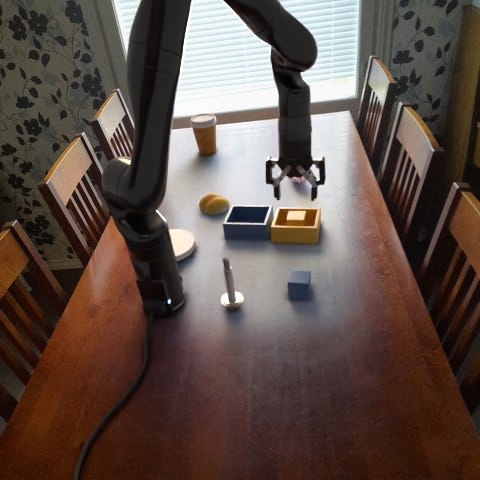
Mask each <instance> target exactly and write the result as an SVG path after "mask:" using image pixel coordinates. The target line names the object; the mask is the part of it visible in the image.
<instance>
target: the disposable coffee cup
mask: <svg viewBox="0 0 480 480" xmlns="http://www.w3.org/2000/svg"><path fill="white" fill-rule="evenodd" d="M217 120H218V119H217V118H216V115H215V114H214V113H209V112H206V113H205V112H204V113H198V114H195V115H194V116H192V117H191V118H190V122H189V125H190V126H191V128H192V132H193V135H194V138H195V141H196V146H197V148H198V152H199V154H200V155H212V154H214V153H216V152H217Z"/></svg>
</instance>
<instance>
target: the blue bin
mask: <svg viewBox="0 0 480 480" xmlns="http://www.w3.org/2000/svg"><path fill="white" fill-rule="evenodd" d="M228 209H229V210H228V212H227V213H226V216H225V218H224V219H223V222H222V230H223V235H224V236H223V237H224V240H225V239H227V240H229V239H230V240H257V241H258V240H259V241H268V240H269V236H270V234H271V225H272V222H273V219H274V206H273V205H271V204H270V205H269V204H268V205H267V204H266V205H265V204H262V205H261V204H231V205H230V206H229V208H228Z"/></svg>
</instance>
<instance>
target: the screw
mask: <svg viewBox="0 0 480 480" xmlns="http://www.w3.org/2000/svg"><path fill="white" fill-rule="evenodd" d="M222 265H223V267H222V269H223V278H224V284H225V290H226V293H225V294H223V295H222V296H221V299H220V303H221V304H222V306H223V307H226V308H227V309H228V310H230V311H232V310H237V309H238V308H239V307H240V305H242V303H243V302H244V296H243V295H242V293H240V292H238V291H236V288H235V281H234V273H233V270H232V266H231V263H230V258H227V257H223V258H222Z"/></svg>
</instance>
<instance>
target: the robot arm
mask: <svg viewBox="0 0 480 480" xmlns="http://www.w3.org/2000/svg"><path fill="white" fill-rule="evenodd" d="M193 1H194V0H140V2H139V4H138V6H137V9H136V13H135V15H134V17H133V22H132V24H131V27H130V32H129V37H128V44H127V52H126V60H125V66H124V80H125V88H126V93H127V97H128V102H129V107H130V111H131V114H132V120H133V121H132V122H133V144H132V152H131V156H127V155H119V156H116V157H113V158H112V159H110V160H109V161H108V162H107V163H106V164H105V166H104V168H103V170H102V175H101V188H102V193H103V196H104V199H105V202H106V205H107V207H108V210H109V213H110V215H111V218H112V221H113V223H114V225H115V227H116V229H117V231H118V232H119V234H120V235H121V237H123V240H124V243H125V246H126V249H127V253H128V256H129V259H130V263H131V265H132V268H133V271H134V275H135V277H136V279H135V283H136V286H137V289H138V292H139V295H140V299H141V302H142V304H141V307H142V310H143V313H144V315H148V320H147V323H146V327H145V333H144V343H143V361H142V365H141V368H140V370H139V372H138V374H137V376H136V377H135V379H134V381H133V382H132V383H131V385H130V386H129V387H128V388H127V390H126V391H125V393H124V394H123V395H122V397H121V398H120V399H119V400H118V401H117V402H116V403H115V404H114V405H113V406H112V408H110V409H109V411H107V412H106V413H105V415H104V416H103V417H102V418H101V420H100V421H99V422H98V424H97V425H96V427H95V428H94V429H93V431H92V432H91V434H90V435H89V437H88V438H87V440H86V442H85V444H84V445H83V448H82V450H81V452H80V454H79V456H78V460H77V462H76V465H75V468H74V472H73V476H72V480H79V478H80V477H79V476H80V471H81V468H82V466H83V462H84V460H85V457H86V454H87V452H88V450H89V448H90V446H91V444H92V442H93V441H94V439H95V438H96V436H97V435H98V434H99V432H100V430H101V429H102V428H103V427H104V425H105V423H106V422H107V421H108V420H109V419H110V417H112V415H114V413H115V412H116V411H117V410H118V409H119V408H120V407H121V406H122V405H123V403H124V402H125V401H126V400H127V398H128V397H129V396H130V395H131V393H132V392H133V391H134V389H135V388H136V386H137V385H138V384H139V382H140V380H141V379H142V377H143V375H144V373H145V371H146V368H147V365H148V362H149V339H150V338H149V337H150V331H151V326H152V323H153V319H154V317H155V316H163V317H164V316H172V315H173V314H174V313H175V312H176V311H178V310H179V309H181V308H183V306H184V305H185V303H186V300H187V296H186V292H185V290H184V285H183V283H184V282H183V277H182V276H181V274H180V269H179V266H178V261H176V257H175V253H174V248H173V244H172V240H171V236H170V232H169V230H170V229H169V225H168V222H167V220H166V218H165V217H164V216H163V215H162V214H161V213H160V212H159V211H158V209H159V208H160V207H161V206H162V204H163V202H164V199H165V196H166V192H167V187H168V177H169V176H168V173H169V161H170V148H171V147H170V146H171V138H172V136H171V135H172V129H173V124H174V117H175V109H176V104H177V103H176V102H177V96H178V91H179V86H180V82H181V76H182V70H183V65H184V59H185V49H186V42H187V36H188V32H189V25H190V22H191V21H190V19H191V14H192V8H193ZM221 1H222V2H223V3H224V4H225V5H226V7H228V8H229V9H230V10H231V11H232V12H233V14H234V15H235V16H236V17H237V18H238V19H239V20H240V21H241V22H242V24H243V25H244V26H245V27H246V28H247V29H248V30H249V31H250V33H251V34H252V35H253V36H254V37H255V38H257V39H258V40H259V41H261V42H263V43H265V44H267V45H269V63H270V68H271V72H272V77H273V82H274V86H275V88H276V92H277V110H278V112H277V114H278V115H277V116H278V117H277V143H278V158H273V157H272V156H268V157H267V159H266V161H265V184H266V185H271V186H272V187H273V198H274V199H276V201H280V200H281V197H282V192H281V191H282V190H281V182H282V181H283V180H284V179H285V178H286V177H287V178H288V179H289V178H293V177H297V178H301V177H303V176H304V178H305V179H306V182H308V183H309V184H310V185H311V186H310V202H314V201H315V200H317V198H318V193H319V192H318V189H319V188H318V187H319V186H324V185H325V183H326V178H327V175H326V158H325V156H323V155H322V156H320V157H318V158H313V155H312V132H313V126H312V113H311V101H312V100H311V99H312V98H311V97H312V96H311V95H312V94H311V93H312V92H311V86H310V84H308V82H307V81H306V80H304V78H303V76H302V73H306V72H307V71H309V70H310V69H312V68H313V67H314V65H315V63H316V61H317V59H318V54H319V53H318V52H319V49H318V48H319V47H318V44H317V41H316V39H315V37H314V35H313V34H312V33H311V31H310V30H309V29H308V28H307V27H306V26H305V25H304V24H303V23H302V22H301V21H300V20H299V19H297V18H296V17H295V16H294V15H293V14H292V13H291V12H289V11H288V10H287V9H286V8H285V7H284V6H283V5H282V3H281V1H280V0H221ZM276 165H277V167H278V168H279V169H280V171H279V173H278V174H277V175H276V177H273V169H274V168H275V167H276ZM313 165H314V166H315V168H316V169H318V176H319V177H318V178H317V177H316V175H315V174H314V172H313V170H312V169H311V168H312V167H313Z"/></svg>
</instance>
